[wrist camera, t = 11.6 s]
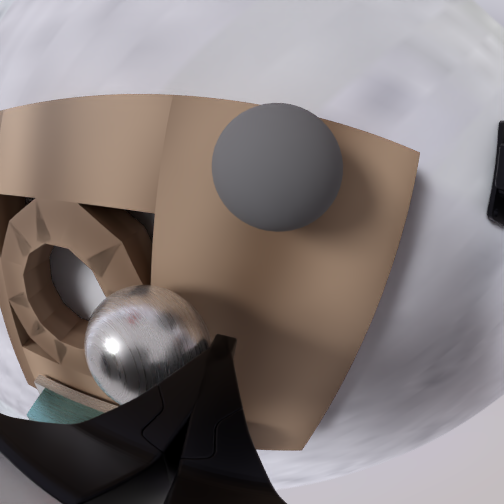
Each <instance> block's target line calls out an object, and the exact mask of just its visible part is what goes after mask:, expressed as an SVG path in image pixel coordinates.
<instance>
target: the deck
mask: <svg viewBox="0 0 504 504" xmlns="http://www.w3.org/2000/svg"><path fill="white" fill-rule="evenodd" d="M255 106H259V105H258V104H252V103H246V102H239V101H232V100H224V99H216V98H207V97H196V96H182V95H161V94H118V95H98V96H85V97H75V98H66V99H58V100H51V101H45V102H39V103H34V104H28V105H23V106H19V107H14V108H10V109H6V110H2V111H0V308H1V311H2V315H3V318H4V322H5V325H6V328H7V331H8V334H9V337H10V340H11V343H12V346H13V349H14V351H15V354H16V356H17V359H18V361H19V364H20V366H21V369H22V371H23V373H24V376H25V378H26V380H27V382H28V384H29V385H31V386H33V387H34V388H36V389H37V387H36V385H35V383H34V381H35V380H36V378H37V377H38V376H39V374H40V375H42V376H44V377H46V378H48V379H50V380H52V381H55V382H57V383H59V384H61V385H63V386H66V387H68V388H70V389H73V390H75V391H78V392H80V393H83V394H85V395H88V396H90V397H93V398H96V399H99V400H101V401H104V402H107V403H110V404H113V405H116V406H120V404H118V403H117V402H115V401H113V400H112V399H111V398H110V397H108V396H107V395H106V394H105V393H104V392H103V391H102V390H101V389H100V387H99V386H98V385H97V383H96V382H95V380H94V378H93V377H92V375H91V373H90V370H89V368H88V365H87V361H86V356H85V349H84V341H85V333H86V329H87V325H88V322H89V321H88V320H85V319H82V318H80V317H79V316H78V315H77V314H75V313H74V312H73V311H72V310H71V309H70V308H68V307H67V306H66V305H65V304H64V303H63V301H62V300H61V298H60V296H59V294H58V292H57V290H56V288H55V286H54V285H53V283H52V278H51V270H50V260H49V258H50V255H51V252H52V250H53V247H54V245H55V246H59V247H63V248H68V249H69V250H70V251H71V252H72V253H73V254H74V255H76V256H77V257H78V258H79V259H80V260H81V261H82V262H83V263H84V264H86V265H87V266H88V267H89V268H90V269H91V270H92V271H93V273H94V275H95V277H96V279H97V281H98V283H99V285H100V287H101V289H102V290H103V292H104V294H105V296H106V298H107V297H108V296H110V295H111V294H113V293H115V292H116V291H119V290H121V289H124V288H126V287H130V286H136V285H152V286H158V287H162V288H165V289H168V290H170V291H172V292H174V293H176V294H178V295H179V296H181V297H183V298H184V299H185V300H186V301H188V302H189V303H190V304H191V305H192V306H193V307H194V308H195V309H196V311H197V312H198V313H199V314H200V316H201V317H202V319H203V321H204V323H205V325H206V327H207V329H208V332H209V335H210V338H211V343H212V341H213V339H214V338H215V336H216V334H222V335H226V336H230V337H234V338H236V339H237V344H236V349H235V355H234V360H233V361H234V366H235V371H236V376H237V381H238V386H239V391H240V396H241V400H242V405H243V410H244V414H245V418H246V422H247V426H248V429H249V433H250V436H251V438H252V441H253V444H254V446H255V449H258V450H302V449H303V448H304V446H305V445H306V443H307V442H308V440H309V439H310V437H311V436H312V434H313V433H314V431H315V429H316V428H317V426H318V425H319V423H320V421H321V420H322V418H323V416H324V415H325V413H326V411H327V410H328V408H329V406H330V404H331V403H332V401H333V399H334V397H335V396H336V394H337V392H338V390H339V388H340V386H341V384H342V383H343V381H344V379H345V377H346V375H347V373H348V371H349V369H350V367H351V365H352V363H353V361H354V359H355V357H356V355H357V353H358V350H359V348H360V346H361V344H362V342H363V340H364V337H365V335H366V333H367V330H368V328H369V326H370V323H371V321H372V319H373V316H374V314H375V311H376V309H377V306H378V304H379V301H380V299H381V296H382V293H383V291H384V288H385V285H386V282H387V279H388V277H389V274H390V271H391V268H392V265H393V262H394V259H395V256H396V252H397V249H398V246H399V242H400V239H401V236H402V232H403V228H404V225H405V221H406V217H407V213H408V209H409V205H410V201H411V197H412V192H413V188H414V183H415V178H416V173H417V167H418V162H419V156H420V152H417V151H415V150H413V149H410V148H408V147H405V146H403V145H400V144H398V143H395V142H393V141H390V140H388V139H385V138H382V137H379V136H377V135H374V134H371V133H368V132H365V131H362V130H359V129H356V128H353V127H350V126H346V125H343V124H340V123H336V122H333V121H329V120H326V119H322V118H319V119H321V120H322V121H323V122H324V123H325V124H326V125H327V126H328V128H329V129H330V130H331V132H332V133H333V135H334V137H335V138H336V140H337V142H338V145H339V147H340V151H341V155H342V160H343V176H342V182H341V186H340V189H339V192H338V194H337V196H336V198H335V200H334V201H333V203H332V204H331V206H330V207H329V208H328V210H327V211H326V212H325V213H324V214H323V215H322V216H320V217H319V218H318V219H317V220H315V221H314V222H312V223H310V224H308V225H306V226H304V227H302V228H299V229H295V230H291V231H284V232H274V231H266V230H262V229H258V228H255V227H253V226H250V225H248V224H247V223H245V222H243V221H241V220H240V219H239V218H237V217H236V216H235V215H234V214H232V213H231V212H230V211H229V210H228V208H227V207H226V206H225V205H224V203H223V202H222V200H221V199H220V197H219V195H218V193H217V191H216V188H215V185H214V182H213V176H212V156H213V152H214V148H215V145H216V142H217V140H218V138H219V136H220V134H221V133H222V131H223V130H224V129H225V127H226V126H227V125H228V124H229V123H230V122H231V121H232V120H233V119H234V118H235V117H237V116H238V115H239V114H241V113H242V112H244V111H246V110H248V109H250V108H253V107H255ZM25 197H32V198H35V199H34V200H33V201H31V202H30V203H29V204H28V205H27V206H26V207H25ZM124 209H127V210H134V211H141V212H147V213H154V214H155V218H154V231H153V244H152V242H151V240H150V237H149V235H148V233H147V231H146V228H145V226H144V225H142V224H141V223H140V222H139V221H137V220H136V219H135V218H134V217H133V216H131V215H130V214H129V213H128V212H127V211H125V210H124Z"/></svg>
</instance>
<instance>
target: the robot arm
mask: <svg viewBox="0 0 504 504" xmlns="http://www.w3.org/2000/svg"><path fill="white" fill-rule="evenodd" d="M488 217H489V219H491V220H493V221H495V222H497V223H499V224H501V225H503V226H504V121H500V122H499V131H498V146H497V157H496V165H495V173H494V179H493V186H492V191H491V197H490V202H489V206H488ZM236 344H237V339H236V338H234V337H230V336H226V335H222V334H216V336H215V338H214V339H213V341H212V343H211V345H210V347H209V348H207V349H206V350H205V351H203V352H202V353H201V354H199V355H198V356H196V357H195V358H194V359H192V360H191V361H189V362H188V363H187V364H185V365H184V366H182V367H181V368H180V369H178V370H177V371H175V372H174V373H172V374H171V375H170V376H168V377H167V378H165V379H164V380H162V381H161V382H159V383H158V385H155V386H153V387H152V388H150V389H149V390H147V391H146V392H144V393H142V394H141V395H139V396H138V397H136V398H134V399H132V400H130V401H128V402H126V403H124V404H122V405H120V406H118V407H116V408H114V409H112V410H110V411H107V412H105V413H103V414H101V415H99V416H96V417H94V418H92V419H89V420H87V421H84V422H80V423H75V424H58V423H48V422H39V421H32V420H25V419H19V418H13V417H9V416H6V415H3V414H1V413H0V504H287V503H286V502H285V501H284V500H283V499H282V498H281V497H280V496H279V495H278V494H277V492H276V491H275V489H274V487H273V486H272V484H271V482H270V480H269V478H268V476H267V474H266V471H265V469H264V467H263V465H262V462H261V460H260V458H259V456H258V453H257V451H256V449H255V446H254V444H253V441H252V438H251V436H250V433H249V429H248V426H247V422H246V418H245V414H244V410H243V405H242V400H241V396H240V391H239V386H238V381H237V376H236V371H235V366H234V361H233V360H234V355H235V349H236Z"/></svg>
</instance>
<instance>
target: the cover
mask: <svg viewBox="0 0 504 504" xmlns="http://www.w3.org/2000/svg"><path fill="white" fill-rule="evenodd" d="M34 383H35V385H36V387H37V390H38V392H39V394H40V396H39V397H38V399H37V400H36V401H35V403H34V404H33V406H32V407H31V409H30V411H29V412H28V414H27V417H28V418H29V420H32V421H39V422H48V423H58V424H75V423H80V422H84V421H87V420H89V419H92V418H94V417H96V416H99V415H101V414H103V413H105V412H107V411H110V410H112V409H114V408H116V407H118V406H116V405H113V404H110V403H107V402H104V401H101V400H99V399H96V398H93V397H90V396H88V395H85V394H83V393H80V392H78V391H75V390H73V389H70V388H68V387H66V386H63V385H61V384H59V383H57V382H55V381H52V380H50V379H48V378H46V377H44V376H42V375H40V374H39V376H38V377H37V378H36V380H35V381H34Z"/></svg>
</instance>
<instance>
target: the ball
mask: <svg viewBox="0 0 504 504" xmlns="http://www.w3.org/2000/svg"><path fill="white" fill-rule="evenodd" d="M210 345H211V338H210V335H209V332H208V329H207V327H206V325H205V323H204V321H203V319H202V317H201V316H200V314H199V313H198V312H197V311H196V309H195V308H194V307H193V306H192V305H191V304H190V303H189V302H188V301H186V300H185V299H184V298H183V297H181V296H179V295H178V294H176V293H174V292H172V291H170V290H168V289H165V288H162V287H158V286H152V285H136V286H130V287H126V288H124V289H121V290H119V291H116V292H115V293H113V294H111V295H110V296H108V297H107V298H106V299H105V300H103V301H102V302H101V303H100V304H99V306H98V307H97V308H96V309H95V311H94V312H93V314H92V316H91V318H90V320H89V322H88V325H87V329H86V333H85V341H84V349H85V356H86V361H87V365H88V368H89V370H90V373H91V375H92V377H93V378H94V380H95V382H96V383H97V385H98V386H99V387H100V389H101V390H102V391H103V392H104V393H105V394H106V395H107V396H108V397H110V398H111V399H112V400H113V401H115V402H117V403H118V404H120V405H122V404H124V403H126V402H128V401H130V400H132V399H134V398H136V397H138V396H139V395H141V394H142V393H144V392H146V391H147V390H149V389H150V388H152V387H153V386H155V385H158V383H159V382H161V381H162V380H164V379H165V378H167V377H168V376H170V375H171V374H172V373H174V372H175V371H177V370H178V369H180V368H181V367H182V366H184V365H185V364H187V363H188V362H189V361H191V360H192V359H194V358H195V357H196V356H198V355H199V354H201V353H202V352H203V351H205V350H206V349H207V348H209V347H210Z"/></svg>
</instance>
